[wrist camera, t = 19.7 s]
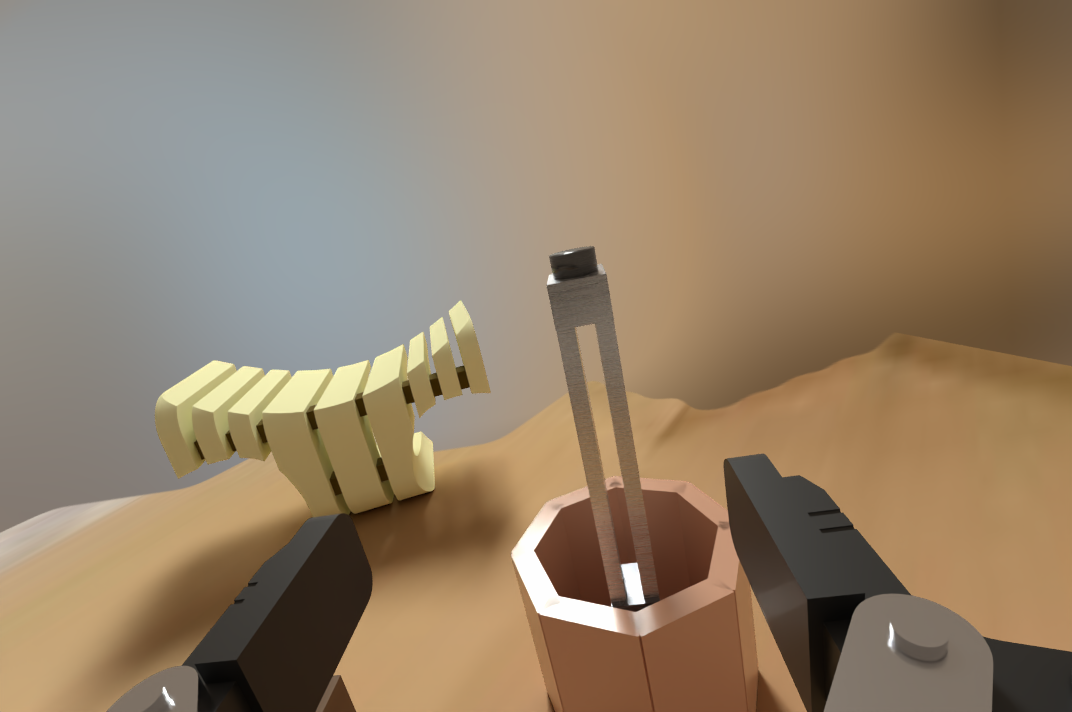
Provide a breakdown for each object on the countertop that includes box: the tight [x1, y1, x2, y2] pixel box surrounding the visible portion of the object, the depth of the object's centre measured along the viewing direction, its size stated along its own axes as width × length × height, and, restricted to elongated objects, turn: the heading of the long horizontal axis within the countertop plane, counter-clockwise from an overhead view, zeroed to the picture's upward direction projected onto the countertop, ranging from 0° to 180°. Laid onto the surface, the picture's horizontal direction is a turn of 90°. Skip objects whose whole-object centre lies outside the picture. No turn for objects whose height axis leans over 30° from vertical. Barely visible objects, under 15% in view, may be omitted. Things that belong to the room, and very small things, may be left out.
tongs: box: [547, 246, 660, 612], centre depth 25 cm, size 3×2×24 cm
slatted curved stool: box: [155, 300, 490, 517], centre depth 57 cm, size 30×16×18 cm, turn 103°
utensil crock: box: [511, 476, 759, 712], centre depth 28 cm, size 11×11×10 cm
